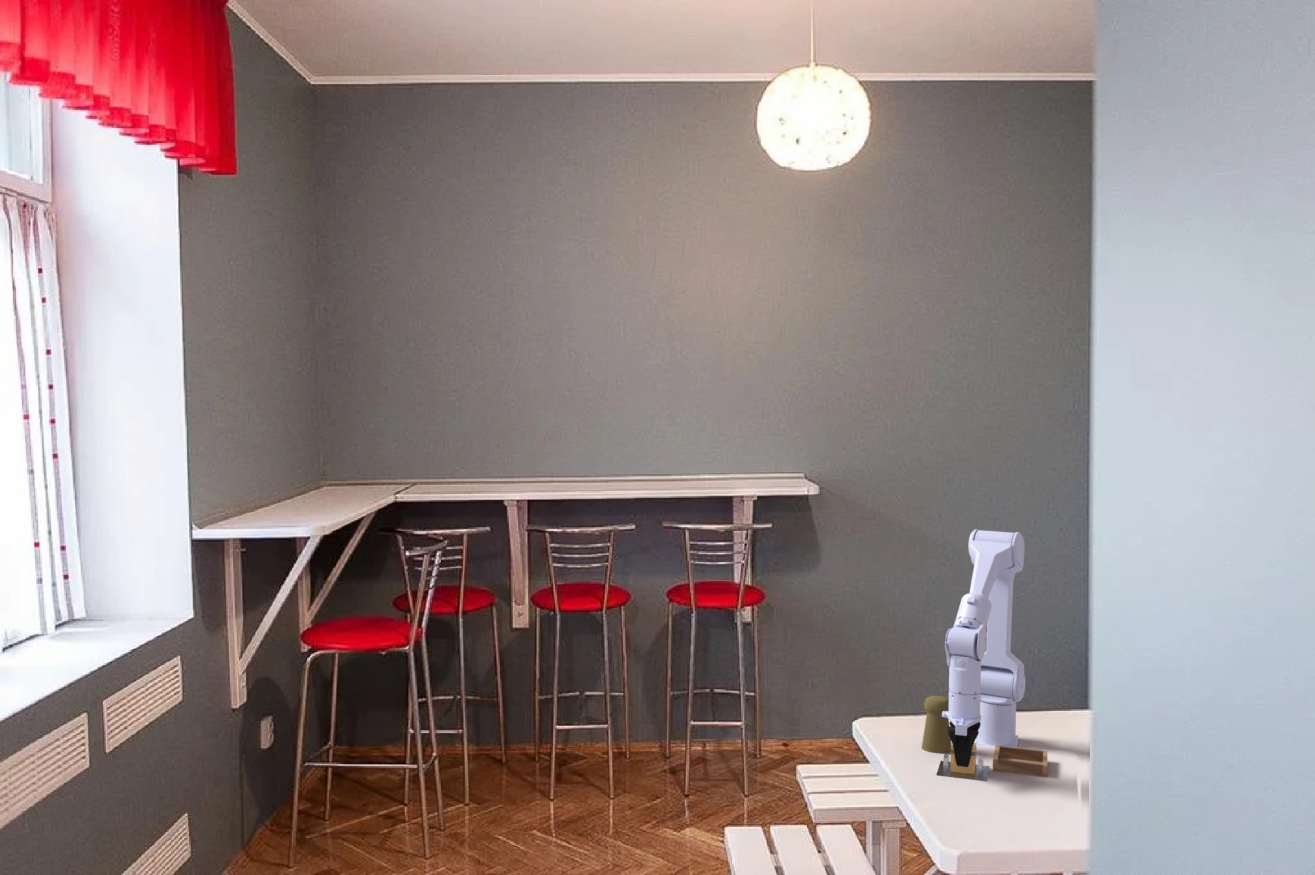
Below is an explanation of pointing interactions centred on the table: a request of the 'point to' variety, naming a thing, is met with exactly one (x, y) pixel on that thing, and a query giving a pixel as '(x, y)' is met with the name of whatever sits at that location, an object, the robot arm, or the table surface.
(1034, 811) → the table surface
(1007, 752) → the tray
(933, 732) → the cork
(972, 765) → the block
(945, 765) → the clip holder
